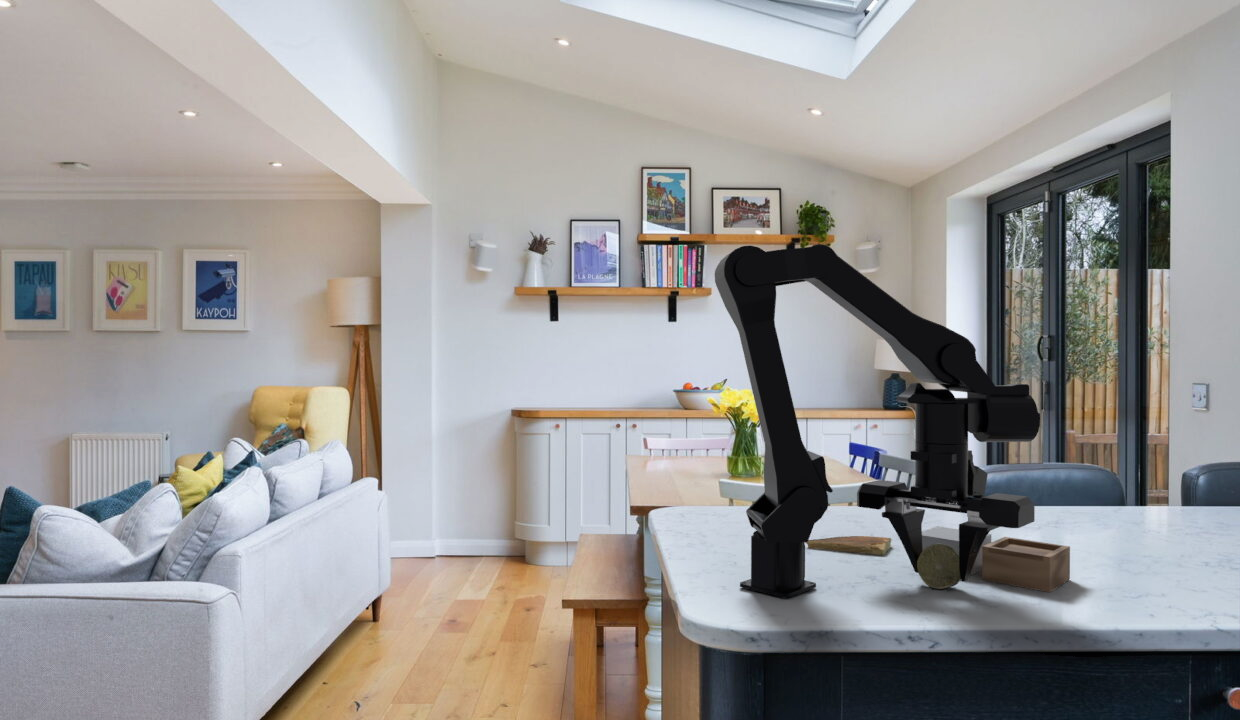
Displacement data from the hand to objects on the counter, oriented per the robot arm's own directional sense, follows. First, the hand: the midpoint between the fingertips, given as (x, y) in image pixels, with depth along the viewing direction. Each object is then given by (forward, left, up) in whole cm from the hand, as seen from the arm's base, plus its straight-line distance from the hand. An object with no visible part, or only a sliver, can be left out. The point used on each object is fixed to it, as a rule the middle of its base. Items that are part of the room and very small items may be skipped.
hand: (941, 576), depth 94 cm
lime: (0, 0, -2) cm, 2 cm away
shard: (+10, +16, -2) cm, 19 cm away
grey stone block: (+11, +3, -1) cm, 11 cm away
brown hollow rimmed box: (+10, -6, -1) cm, 12 cm away
